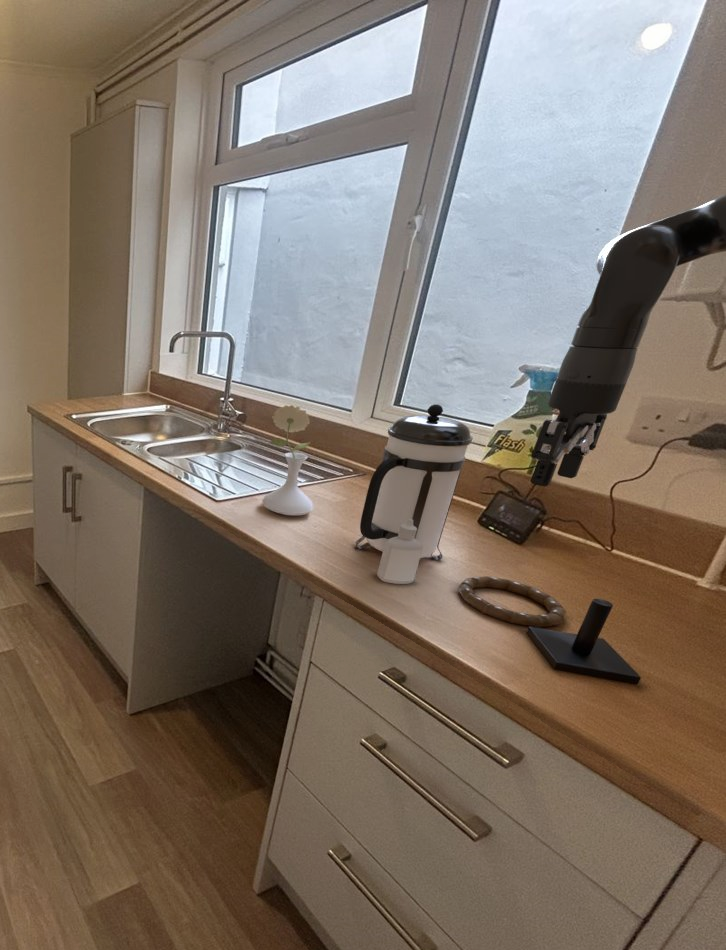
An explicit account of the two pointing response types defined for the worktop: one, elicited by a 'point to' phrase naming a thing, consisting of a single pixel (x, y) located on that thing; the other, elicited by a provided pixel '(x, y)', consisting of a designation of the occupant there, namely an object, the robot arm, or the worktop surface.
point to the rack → (584, 648)
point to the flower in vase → (290, 465)
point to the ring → (543, 620)
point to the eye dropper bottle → (401, 556)
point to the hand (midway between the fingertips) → (552, 480)
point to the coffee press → (415, 480)
